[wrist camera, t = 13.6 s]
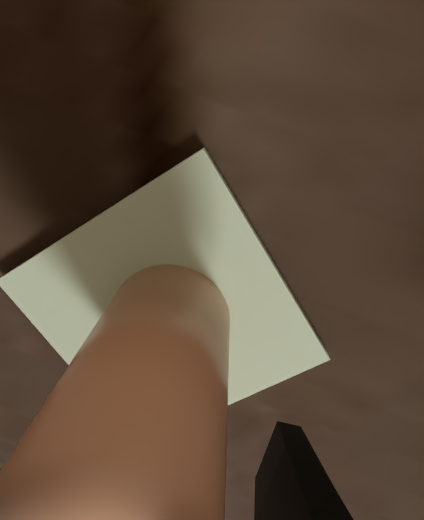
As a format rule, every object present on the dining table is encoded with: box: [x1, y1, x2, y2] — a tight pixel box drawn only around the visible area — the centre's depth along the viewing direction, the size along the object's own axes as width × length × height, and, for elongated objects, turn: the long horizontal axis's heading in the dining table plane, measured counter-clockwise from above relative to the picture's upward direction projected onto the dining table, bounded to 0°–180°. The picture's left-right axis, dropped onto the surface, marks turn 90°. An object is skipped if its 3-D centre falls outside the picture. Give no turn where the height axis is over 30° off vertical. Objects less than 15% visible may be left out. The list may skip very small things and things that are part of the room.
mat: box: [0, 147, 330, 405], centre depth 15 cm, size 9×9×1 cm
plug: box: [0, 265, 230, 520], centre depth 11 cm, size 4×4×8 cm
